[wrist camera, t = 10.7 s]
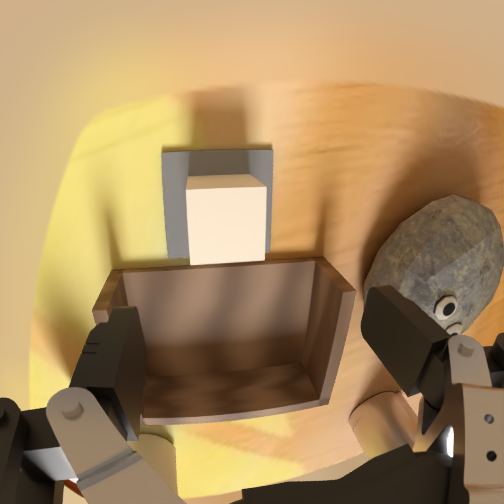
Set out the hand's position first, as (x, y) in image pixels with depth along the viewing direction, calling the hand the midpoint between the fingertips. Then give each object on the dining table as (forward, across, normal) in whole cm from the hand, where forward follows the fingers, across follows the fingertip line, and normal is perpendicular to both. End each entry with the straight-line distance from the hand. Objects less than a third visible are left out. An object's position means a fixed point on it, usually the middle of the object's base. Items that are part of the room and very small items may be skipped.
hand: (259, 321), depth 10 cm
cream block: (+16, 0, 0) cm, 16 cm away
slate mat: (+17, 0, 0) cm, 17 cm away
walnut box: (+17, 0, +12) cm, 21 cm away
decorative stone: (+17, -24, +8) cm, 30 cm away
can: (+17, +12, +34) cm, 40 cm away
